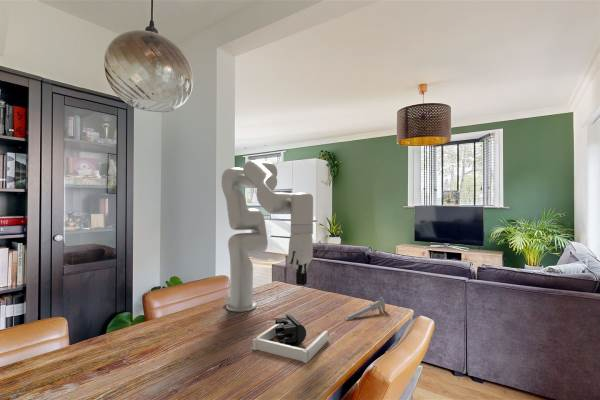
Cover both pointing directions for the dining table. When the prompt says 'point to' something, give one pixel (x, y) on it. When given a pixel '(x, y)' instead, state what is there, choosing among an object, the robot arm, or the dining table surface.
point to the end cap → (290, 331)
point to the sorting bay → (287, 350)
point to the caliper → (371, 307)
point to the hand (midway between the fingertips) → (301, 284)
